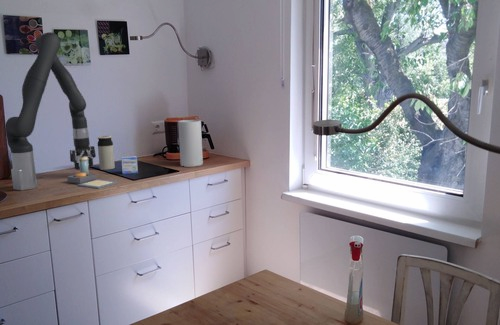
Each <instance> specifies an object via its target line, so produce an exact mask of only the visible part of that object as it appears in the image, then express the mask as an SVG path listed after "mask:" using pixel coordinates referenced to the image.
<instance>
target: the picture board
mask: <svg viewBox="0 0 500 325" xmlns="http://www.w3.org/2000/svg"><path fill="white" fill-rule="evenodd" d="M117 184H119V182H118V181H113V180H107V179H106V180H105V179H99V178H97V179H96V178H95V180H93V181H89V182H85V183H82V184H77V186H78V187H83V188H89V189H96V188H97V189H98V190H99V188H100V189H102V188H106V186H107V187H110V186H113V185H117ZM97 189H96V190H97Z"/></svg>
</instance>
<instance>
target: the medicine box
mask: <svg viewBox="0 0 500 325" xmlns="http://www.w3.org/2000/svg"><path fill="white" fill-rule="evenodd" d="M120 158H121V170H122V173H121V174H122V175H127V174H128V175H129V174H131V175H132V174H139V171H138V157H137V155H134V156H121V157H120Z"/></svg>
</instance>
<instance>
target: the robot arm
mask: <svg viewBox="0 0 500 325" xmlns="http://www.w3.org/2000/svg"><path fill="white" fill-rule="evenodd" d="M34 46H35V48H36V50H37V51H38V52H37V56H36V58H35V61H34V62H33V63H32V65H31V66H30V67H29V69H28V71H27V72H26V75H25V77H24V80H23V83H22V87H21V94H22V106H21V110H20V112H19V114H18V116H12V117H9V118H8V119H7V120H6V122H5V129H4V130H5V135H6V141H7V145H8V147H9V149H10V154H11V155H10V157H11V163H12V168H11V169H10V172H11V179H12V186H13V190H17V191H25V190H26V191H27V190H32V189H35V188H37V187H38V182H37V181H38V180H37V173H36V172H37V171H36V164H35V163H36V162H35V155H34V148H33V145H32V143H30V142H29V140H28V137H29V136H31V135H32V134H33V132H34V129H35V124H36V120H37V116H38V112H39V111H38V110H39V108H40V104H41V102H42V98H43V95H44V93H45V89H46V86H47V83H48V80H49V77H50V73H51V72H52V74H53V75H54V77H55V79H56V81H57V83H58V85H59V87H60V89H61V91H62V92H63V94H64V95H65V96H66V97H67V99H68V101H69V102H68V109H69V113H70V116H71V124H72V126H71V127H72V140H73V146H74V149H70V150H69V158H70V160H69V161H70V163H73V165H74V169H75V170H76V171H79V170H80V163H79V160H80V159H81V157H88V167H91V168H92V167H93V166H94V159H95V158H96V157H97V156H96V149H95V146H93V145H90V143H91V142H90V134H89V133H90V132H89V129H88V120H87V117H86V114H85V110H86V108H87V102H86V99H85V98H84V96H83V95H82V93H81V92H80V90H79V88H78V86H77V83H76V82H75V80H74V78H73V76H72V74H71V73H70V71H69V70H68V69H67V68H66V67H65V65H63V63H62V62H61V60H60V59H59V57H58V55H57V54H58V53H59V50H60V48H61V40H60V37H59V36H58V35H57V34H56V33H54V32H44V33H42V34H40V35H38V36H37V37H36V38H35V41H34Z"/></svg>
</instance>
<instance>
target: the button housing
mask: <svg viewBox="0 0 500 325" xmlns="http://www.w3.org/2000/svg"><path fill="white" fill-rule="evenodd" d="M66 179H67V184H68V183H69V184H75V185H78V184H82V183H85V182H89V181H93V180H96V175H95V174H92V173H89V174H86V176H84V177H76V176H75V174H72V175H68V176H66Z"/></svg>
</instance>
